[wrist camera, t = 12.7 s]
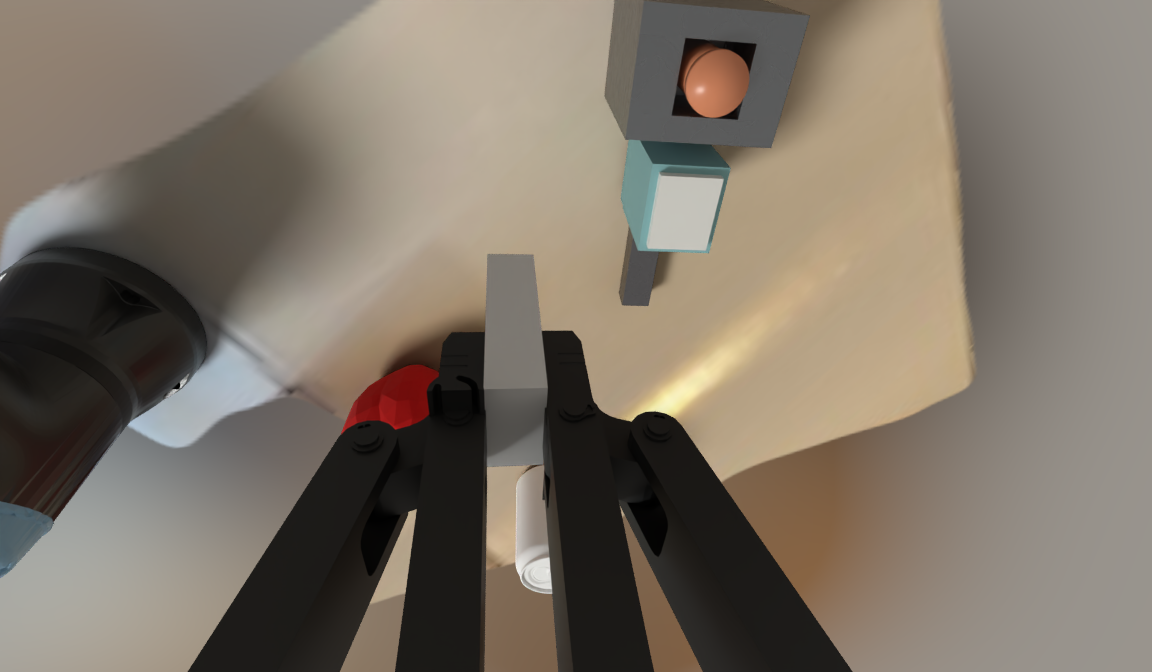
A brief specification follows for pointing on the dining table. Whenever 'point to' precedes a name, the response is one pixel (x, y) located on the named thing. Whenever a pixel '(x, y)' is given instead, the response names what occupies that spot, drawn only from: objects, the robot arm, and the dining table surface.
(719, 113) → the plunger
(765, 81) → the grey box
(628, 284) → the rail
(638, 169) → the block
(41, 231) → the dining table surface
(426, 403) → the tomato
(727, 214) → the dining table surface
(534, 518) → the beverage can
